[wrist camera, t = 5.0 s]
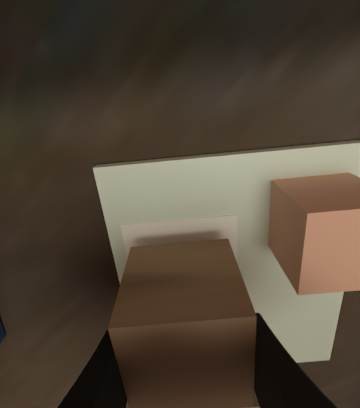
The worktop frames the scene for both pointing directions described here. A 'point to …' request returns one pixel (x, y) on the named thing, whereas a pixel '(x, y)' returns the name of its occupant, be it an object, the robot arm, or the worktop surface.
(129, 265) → the walnut cube
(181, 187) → the baseplate
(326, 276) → the terracotta block
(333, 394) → the worktop surface
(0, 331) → the protein box
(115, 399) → the robot arm
